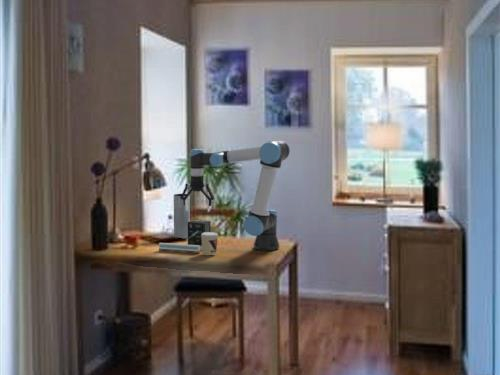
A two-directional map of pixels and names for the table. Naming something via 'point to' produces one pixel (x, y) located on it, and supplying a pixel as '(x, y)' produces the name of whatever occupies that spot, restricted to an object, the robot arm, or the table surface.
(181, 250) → the shelf board
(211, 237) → the coffee cup
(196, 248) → the price rail
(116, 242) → the table surface
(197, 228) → the tampon box
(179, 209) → the vase
